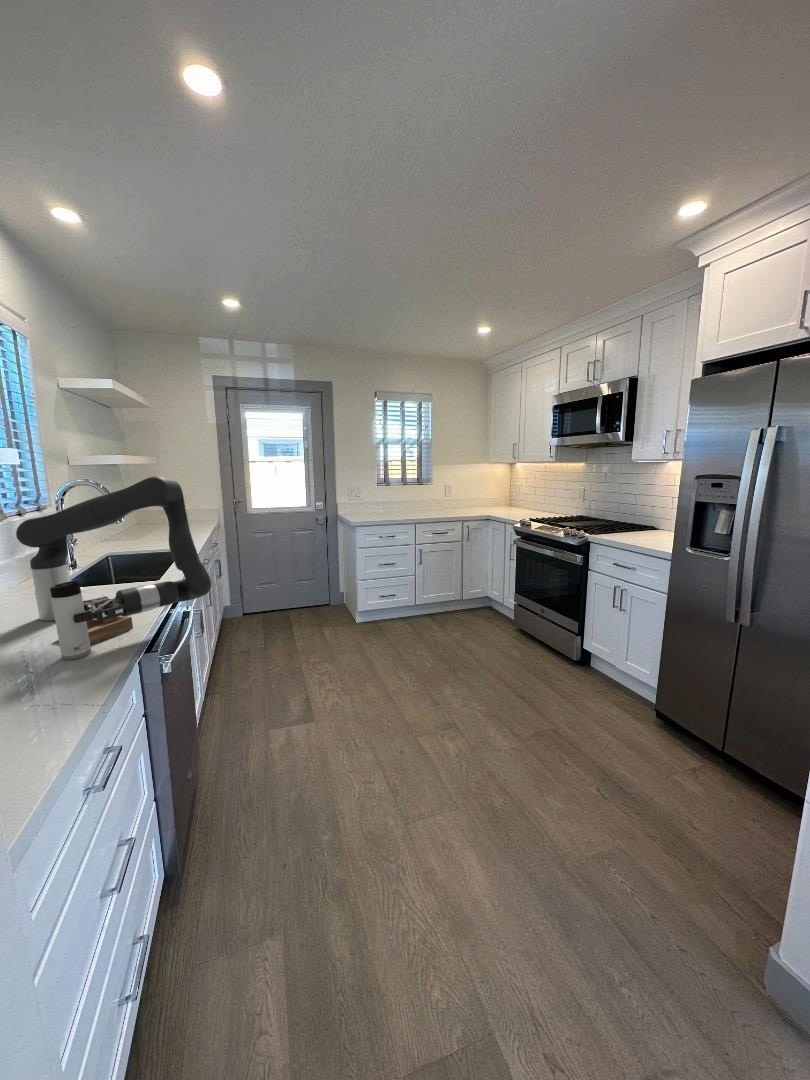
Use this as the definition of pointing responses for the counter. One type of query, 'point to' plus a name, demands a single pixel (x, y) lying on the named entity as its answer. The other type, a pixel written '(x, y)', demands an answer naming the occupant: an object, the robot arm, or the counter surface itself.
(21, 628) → the counter surface
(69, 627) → the travel mug
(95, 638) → the walnut caddy
